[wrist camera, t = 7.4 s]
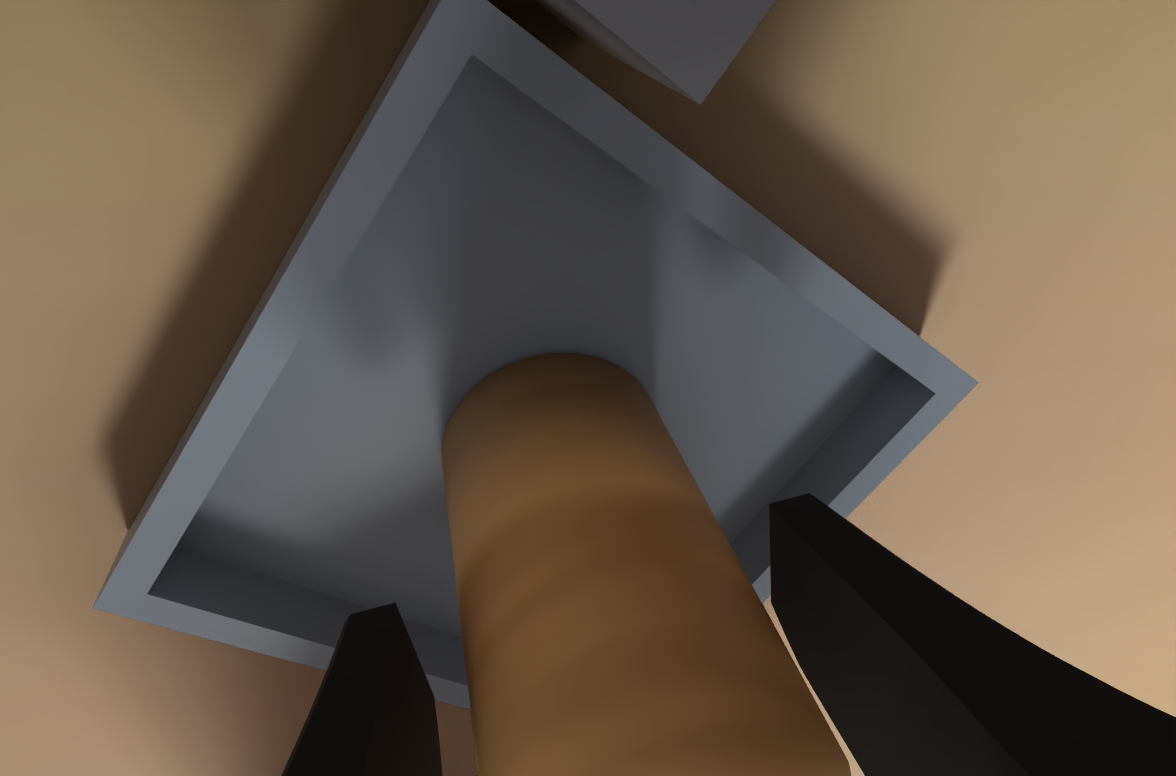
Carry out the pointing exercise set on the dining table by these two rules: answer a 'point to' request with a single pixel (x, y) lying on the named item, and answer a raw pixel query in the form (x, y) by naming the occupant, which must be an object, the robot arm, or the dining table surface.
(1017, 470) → the dining table surface
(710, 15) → the grey square box
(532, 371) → the dowel
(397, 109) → the tray
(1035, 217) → the dining table surface
